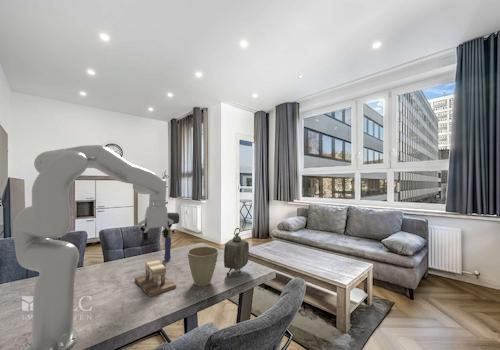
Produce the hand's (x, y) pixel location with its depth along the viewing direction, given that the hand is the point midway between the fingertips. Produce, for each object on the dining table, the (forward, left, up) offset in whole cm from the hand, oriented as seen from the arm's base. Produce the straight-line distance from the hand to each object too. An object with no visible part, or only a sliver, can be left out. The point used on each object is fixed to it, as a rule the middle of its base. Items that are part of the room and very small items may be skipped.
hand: (155, 239), depth 111 cm
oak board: (0, 0, -16) cm, 16 cm away
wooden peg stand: (0, 0, -22) cm, 22 cm away
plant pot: (-14, -18, -22) cm, 32 cm away
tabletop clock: (-16, -39, -22) cm, 48 cm away
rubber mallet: (+28, -19, -22) cm, 41 cm away
